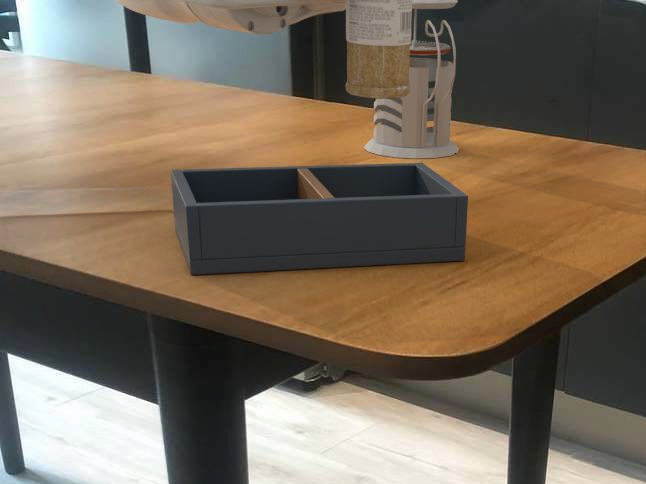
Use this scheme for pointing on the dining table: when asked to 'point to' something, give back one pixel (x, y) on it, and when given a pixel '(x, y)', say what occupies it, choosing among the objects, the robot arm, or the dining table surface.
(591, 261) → the dining table surface
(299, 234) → the blue-grey divided tray
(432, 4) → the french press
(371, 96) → the spice jar
